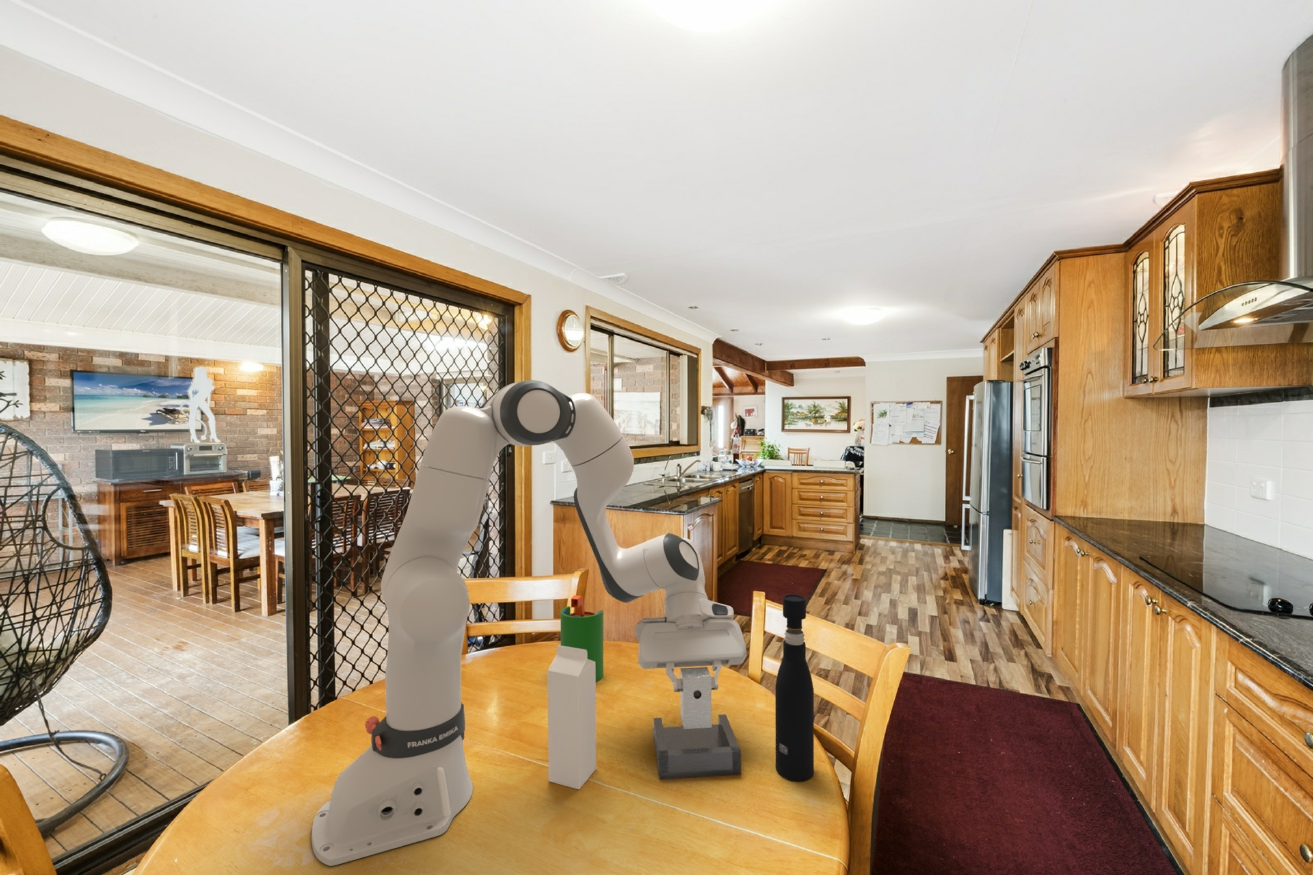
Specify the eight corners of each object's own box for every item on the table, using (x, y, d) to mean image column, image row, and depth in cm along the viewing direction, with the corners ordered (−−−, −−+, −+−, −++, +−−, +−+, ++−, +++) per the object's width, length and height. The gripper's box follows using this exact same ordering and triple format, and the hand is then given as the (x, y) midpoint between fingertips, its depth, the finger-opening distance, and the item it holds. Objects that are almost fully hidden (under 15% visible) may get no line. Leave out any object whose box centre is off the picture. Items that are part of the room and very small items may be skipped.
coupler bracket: (652, 732, 105) (652, 712, 105) (723, 729, 106) (723, 709, 106) (659, 779, 91) (659, 756, 91) (740, 774, 92) (740, 751, 92)
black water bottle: (813, 761, 96) (813, 593, 95) (813, 785, 89) (813, 605, 89) (776, 756, 97) (776, 590, 97) (774, 778, 91) (774, 602, 91)
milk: (566, 761, 96) (565, 638, 96) (597, 769, 94) (596, 643, 94) (547, 782, 90) (546, 651, 90) (579, 790, 88) (578, 656, 88)
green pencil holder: (606, 669, 133) (605, 588, 132) (598, 686, 124) (598, 600, 124) (565, 667, 134) (565, 587, 133) (555, 684, 125) (554, 599, 125)
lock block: (680, 716, 99) (680, 668, 99) (707, 715, 99) (707, 667, 99) (683, 729, 95) (683, 678, 94) (711, 728, 95) (711, 677, 95)
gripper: (635, 611, 103) (638, 686, 93) (740, 607, 104) (754, 680, 95) (634, 625, 107) (637, 699, 98) (735, 621, 109) (748, 693, 99)
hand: (696, 690), depth 96 cm, fingers closed on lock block, 5 cm apart
